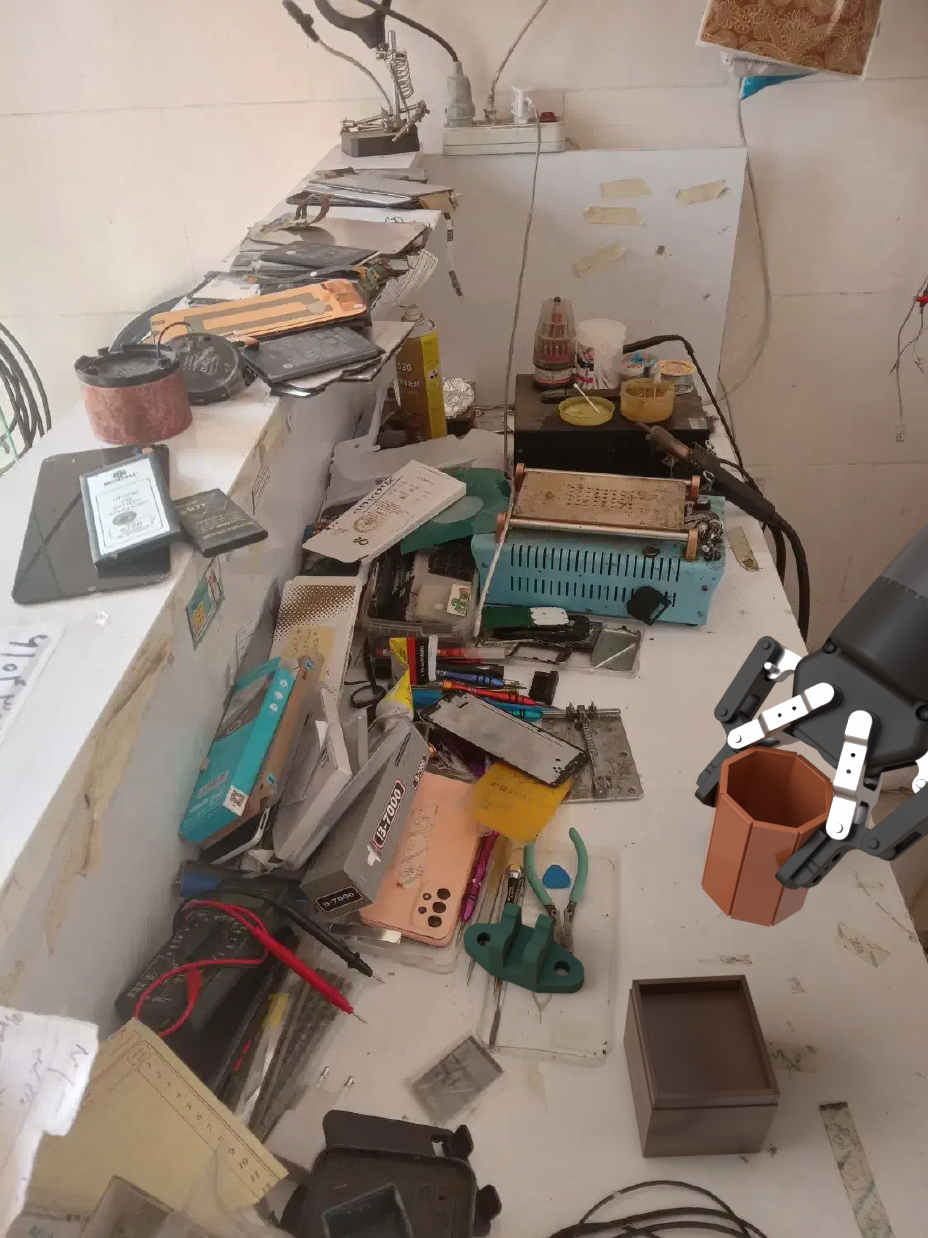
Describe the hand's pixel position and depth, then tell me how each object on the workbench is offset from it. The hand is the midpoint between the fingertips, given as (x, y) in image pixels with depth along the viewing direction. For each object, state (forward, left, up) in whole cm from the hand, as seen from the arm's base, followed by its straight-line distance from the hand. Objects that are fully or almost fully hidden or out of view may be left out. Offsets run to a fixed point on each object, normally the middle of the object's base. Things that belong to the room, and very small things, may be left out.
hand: (743, 840), depth 48 cm
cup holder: (-2, +2, -27) cm, 28 cm away
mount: (+13, +7, -28) cm, 32 cm away
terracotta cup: (0, -2, -5) cm, 6 cm away
